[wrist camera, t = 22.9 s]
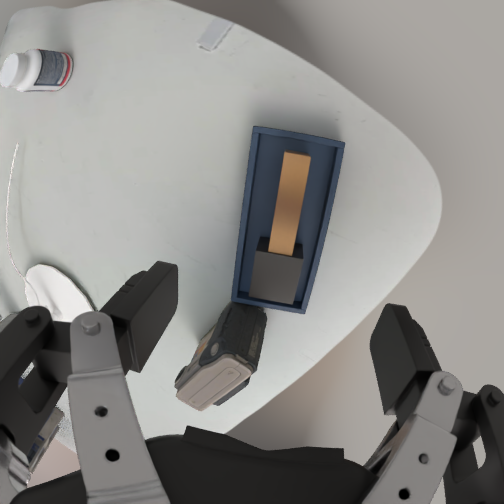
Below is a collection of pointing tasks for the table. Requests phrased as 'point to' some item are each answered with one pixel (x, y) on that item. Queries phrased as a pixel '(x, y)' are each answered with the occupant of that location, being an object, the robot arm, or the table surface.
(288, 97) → the table surface
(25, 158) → the table surface
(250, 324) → the camera
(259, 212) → the tray
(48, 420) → the building
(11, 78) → the pill bottle
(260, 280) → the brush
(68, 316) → the desk lamp
